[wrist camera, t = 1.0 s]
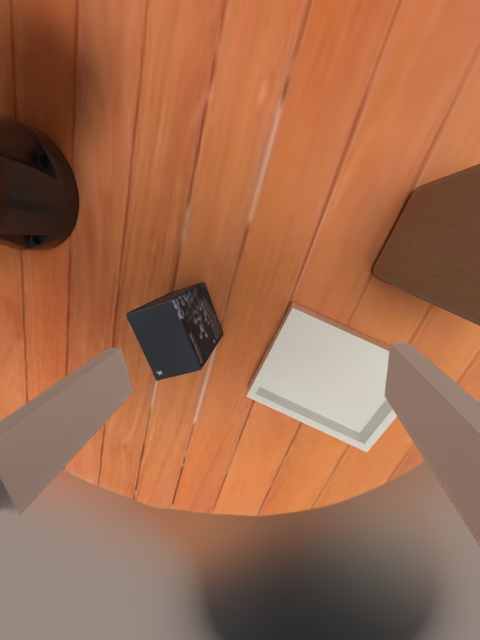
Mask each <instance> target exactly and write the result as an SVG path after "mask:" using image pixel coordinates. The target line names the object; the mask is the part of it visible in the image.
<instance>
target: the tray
mask: <svg viewBox="0 0 480 640" xmlns="http://www.w3.org/2000/svg"><path fill="white" fill-rule="evenodd" d="M389 350H390V346H389V345H386V344H384V343H382V342H380V341H378V340H375V339H373V338H371V337H369V336H366V335H364V334H362V333H360V332H358V331H355V330H353V329H351V328H349V327H347V326H344V325H342V324H340V323H338V322H335V321H333V320H331V319H329V318H327V317H324V316H322V315H320V314H318V313H316V312H313V311H311V310H309V309H307V308H304V307H302V306H300V305H298V304H296V303H293V302H292V303H291V305H290V307H289V309H288V310H287V312H286V314H285V316H284V318H283V320H282V322H281V324H280V326H279V328H278V330H277V332H276V334H275V336H274V338H273V340H272V342H271V344H270V345H269V347H268V349H267V351H266V353H265V355H264V357H263V359H262V361H261V363H260V365H259V367H258V369H257V371H256V373H255V375H254V377H253V378H252V380H251V382H250V384H249V388H248V392H247V396H246V397H249V398H251V399H253V400H255V401H257V402H259V403H262V404H264V405H266V406H268V407H270V408H272V409H275V410H277V411H279V412H281V413H283V414H285V415H287V416H290V417H292V418H294V419H296V420H298V421H300V422H303V423H305V424H307V425H309V426H311V427H313V428H316V429H318V430H320V431H322V432H324V433H326V434H329V435H331V436H333V437H335V438H337V439H339V440H341V441H344V442H346V443H348V444H350V445H352V446H354V447H357V448H359V449H361V450H363V451H365V452H368V450H369V449H370V448H371V447H372V446H373V444H374V443H375V442H376V441H377V440H378V438H379V437H380V436H381V435H382V434H383V432H384V431H385V430H386V429H387V428H388V426H389V425H390V424H391V423H392V422H393V420H394V419H395V418H396V417H397V415H396V413H395V412H394V410H393V409H392V407H391V405H390V404H389V402H388V401H387V399H386V398H385V396H384V395H385V386H386V377H387V368H388V359H389Z"/></svg>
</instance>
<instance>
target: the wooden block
mask: <svg viewBox="0 0 480 640" xmlns="http://www.w3.org/2000/svg"><path fill="white" fill-rule="evenodd" d="M373 275H374V276H375V277H376V278H377V279H379V280H382V281H384V282H386V283H388V284H390V285H392V286H395V287H397V288H399V289H401V290H403V291H405V292H408V293H410V294H412V295H414V296H416V297H419V298H421V299H423V300H425V301H427V302H429V303H432V304H434V305H436V306H438V307H440V308H442V309H445V310H447V311H449V312H451V313H453V314H455V315H458V316H460V317H462V318H464V319H466V320H469V321H471V322H473V323H475V324H477V325H479V326H480V164H478V165H476V166H473V167H470V168H468V169H465V170H462V171H459V172H457V173H454V174H451V175H449V176H446V177H443V178H441V179H438V180H435V181H432V182H430V183H427V184H424V185H422V186H419V187H418V188H417V189H416V190H415V191H414V192H413V193H412V195H411V197H410V199H409V201H408V203H407V205H406V206H405V208H404V210H403V212H402V214H401V216H400V218H399V220H398V222H397V224H396V225H395V227H394V229H393V231H392V233H391V235H390V237H389V239H388V241H387V242H386V244H385V246H384V248H383V250H382V252H381V254H380V256H379V258H378V260H377V261H376V263H375V265H374V267H373Z"/></svg>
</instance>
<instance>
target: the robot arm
mask: <svg viewBox="0 0 480 640" xmlns="http://www.w3.org/2000/svg"><path fill="white" fill-rule="evenodd" d="M77 212H78V194H77V188H76V183H75V180H74V177H73V174H72V171H71V169H70V166H69V164H68V162H67V161H66V159H65V157H64V156H63V154H62V153H61V151H60V150H59V148H58V147H57V146H56V145H55V144H54V143H53V142H52V141H51V140H50V139H49V138H48V137H47V136H46V135H45V134H43V133H42V132H41V131H39V130H37V129H36V128H34V127H32V126H29V125H27V124H25V123H22V122H20V121H18V120H15V119H13V118H10V117H6V116H1V115H0V245H4V246H8V247H12V248H16V249H21V250H43V249H50V248H53V247H55V246H57V245H59V244H60V243H62V242H63V241H64V240H65V239H66V238H67V237H68V236H69V234H70V233H71V231H72V229H73V227H74V224H75V221H76V218H77ZM132 393H133V390H132V386H131V382H130V378H129V375H128V371H127V367H126V363H125V359H124V355H123V352H122V348H108V349H106V350H105V351H103V352H102V353H100V354H99V355H97V356H96V357H94V358H93V359H91V360H90V361H88V362H87V363H86V364H84V365H83V366H81V367H80V368H78V369H77V370H75V371H74V372H72V373H71V374H69V375H68V376H66V377H65V378H63V379H62V380H60V381H59V382H58V383H56V384H55V385H53V386H52V387H50V388H49V389H47V390H46V391H44V392H43V393H41V394H40V395H38V396H37V397H35V398H34V399H32V400H31V401H30V402H28V403H27V404H25V405H24V406H22V407H21V408H19V409H18V410H16V411H15V412H13V413H12V414H10V415H9V416H7V417H6V418H4V419H3V420H2V421H0V513H3V514H13V515H21V514H22V513H23V512H24V510H25V509H26V508H27V507H28V506H29V505H30V504H31V503H32V502H33V501H34V500H35V499H36V497H37V496H38V495H39V494H40V493H41V492H42V491H43V490H44V489H45V488H46V486H47V485H48V484H49V483H50V482H51V481H52V480H53V479H54V478H55V477H56V475H57V474H58V473H59V472H60V471H61V470H62V469H63V468H64V467H65V466H66V465H67V464H68V462H69V461H70V460H71V459H72V458H73V457H74V456H75V455H76V454H77V453H78V452H79V450H80V449H81V448H82V447H83V446H84V445H85V444H86V443H87V442H88V441H89V440H90V438H91V437H92V436H93V435H94V434H95V433H96V432H97V431H98V430H99V429H100V428H101V426H102V425H103V424H104V423H105V422H106V421H107V420H108V419H109V418H110V417H111V416H112V414H113V413H114V412H115V411H116V410H117V409H118V408H119V407H120V406H121V405H122V404H123V402H124V401H125V400H126V399H127V398H128V397H129V396H130V395H131V394H132ZM384 396H385V398H386V399H387V401H388V402H389V404H390V405H391V407H392V409H393V410H394V412H395V413H396V415H397V417H398V418H399V420H400V421H401V423H402V424H403V426H404V428H405V429H406V431H407V432H408V434H409V435H410V437H411V439H412V440H413V442H414V443H415V445H416V447H417V448H418V450H419V451H420V453H421V454H422V456H423V458H424V459H425V461H426V462H427V464H428V465H429V467H430V469H431V470H432V472H433V473H434V475H435V476H436V478H437V480H438V481H439V483H440V484H441V486H442V488H443V489H444V490H445V492H446V494H447V495H448V497H449V499H450V500H451V502H452V503H453V505H454V506H455V508H456V510H457V511H458V513H459V514H460V516H461V518H462V519H463V521H464V522H465V524H466V526H467V527H468V529H469V530H470V532H471V533H472V535H473V537H474V538H475V540H476V541H477V543H478V544H479V546H480V403H479V402H478V401H476V400H475V399H474V398H473V397H472V396H471V395H470V394H468V393H467V392H466V391H465V390H464V389H463V388H461V387H460V386H459V385H458V384H457V383H456V382H454V381H453V380H452V379H451V378H450V377H449V376H447V375H446V374H445V373H444V372H443V371H442V370H441V369H439V368H438V367H437V366H436V365H435V364H434V363H432V362H431V361H430V360H429V359H428V358H427V357H425V356H424V355H423V354H422V353H421V352H420V351H418V350H417V349H416V348H415V347H414V346H413V345H412V344H410V343H390V350H389V359H388V368H387V377H386V386H385V395H384Z"/></svg>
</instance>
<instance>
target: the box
mask: <svg viewBox="0 0 480 640" xmlns="http://www.w3.org/2000/svg"><path fill="white" fill-rule="evenodd" d="M126 318H127V319H128V321H129V323H130V325H131V327H132V329H133V331H134V333H135V335H136V337H137V339H138V342H139V344H140V346H141V348H142V350H143V352H144V354H145V357H146V359H147V361H148V363H149V365H150V368H151V370H152V372H153V375H154V377H155V379H156V381H158V380H161V379H165V378H169V377H173V376H178V375H182V374H186V373H190V372H194V371H198V370H201V369H202V367H203V366H204V364H205V362H206V361H207V360H208V358H209V356H210V355H211V353H212V352H213V350H214V348H215V347H216V345H217V344H218V342H219V340H220V339H221V337H222V336H223V332H222V329H221V326H220V324H219V321H218V318H217V316H216V313H215V310H214V307H213V305H212V302H211V299H210V296H209V293H208V291H207V288H206V285H205V283H204V282H203V283H200V284H196V285H193V286H190V287H187V288H184V289H181V290H177V291H174V292H171V293H168V294H166V295H164V296H162V297H160V298H158V299H156V300H154V301H152V302H149V303H147V304H145V305H143V306H141V307H139V308H137V309H134V310H132V311H131V312H128V313H127V314H126Z"/></svg>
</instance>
